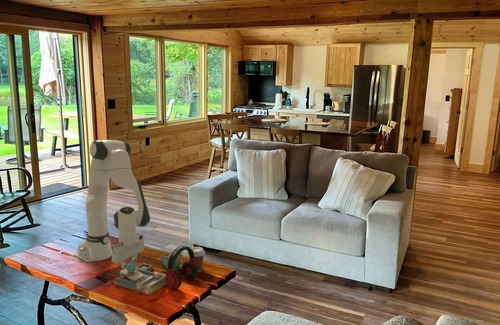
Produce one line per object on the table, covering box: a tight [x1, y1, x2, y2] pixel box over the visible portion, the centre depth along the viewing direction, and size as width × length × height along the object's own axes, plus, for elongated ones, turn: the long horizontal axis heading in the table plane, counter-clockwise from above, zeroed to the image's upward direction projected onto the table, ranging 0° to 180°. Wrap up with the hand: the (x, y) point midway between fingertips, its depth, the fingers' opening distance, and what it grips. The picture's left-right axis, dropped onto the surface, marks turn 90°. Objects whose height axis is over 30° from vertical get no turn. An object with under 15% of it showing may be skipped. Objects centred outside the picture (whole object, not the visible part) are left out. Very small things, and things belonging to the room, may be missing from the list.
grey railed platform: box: [114, 268, 154, 292], centre depth 204 cm, size 14×14×3 cm
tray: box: [136, 271, 167, 296], centre depth 200 cm, size 8×14×4 cm, turn 154°
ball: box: [125, 262, 137, 273], centre depth 204 cm, size 5×5×5 cm
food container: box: [159, 252, 183, 274], centre depth 216 cm, size 12×6×10 cm, turn 123°
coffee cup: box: [190, 246, 206, 273], centre depth 219 cm, size 9×9×12 cm
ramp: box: [119, 267, 144, 282], centre depth 205 cm, size 10×7×4 cm
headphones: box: [164, 245, 198, 290], centre depth 202 cm, size 18×10×20 cm, turn 147°
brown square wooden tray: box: [136, 262, 154, 272], centre depth 218 cm, size 7×7×2 cm
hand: (128, 264), depth 205 cm, fingers open, 6 cm apart
